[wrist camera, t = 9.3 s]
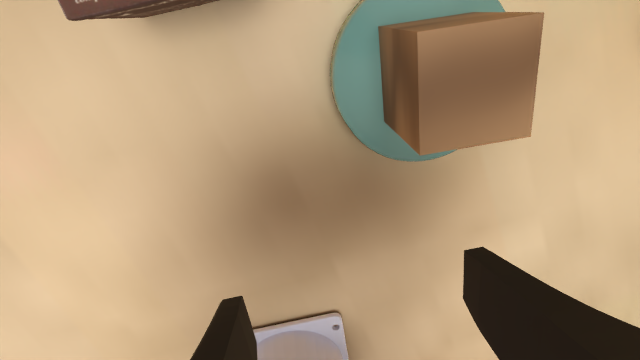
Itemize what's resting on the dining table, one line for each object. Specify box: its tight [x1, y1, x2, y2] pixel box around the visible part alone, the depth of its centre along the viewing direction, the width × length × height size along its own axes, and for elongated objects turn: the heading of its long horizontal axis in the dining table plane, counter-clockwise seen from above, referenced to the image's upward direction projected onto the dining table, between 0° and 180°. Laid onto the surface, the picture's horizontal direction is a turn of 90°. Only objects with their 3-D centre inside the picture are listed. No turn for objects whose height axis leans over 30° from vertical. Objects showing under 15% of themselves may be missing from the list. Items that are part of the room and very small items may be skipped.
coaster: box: [330, 0, 505, 161], centre depth 19 cm, size 9×9×2 cm
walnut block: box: [378, 12, 544, 156], centre depth 16 cm, size 4×4×5 cm
